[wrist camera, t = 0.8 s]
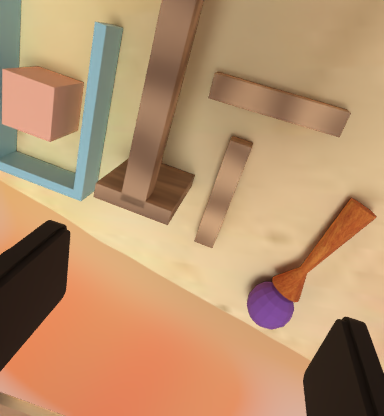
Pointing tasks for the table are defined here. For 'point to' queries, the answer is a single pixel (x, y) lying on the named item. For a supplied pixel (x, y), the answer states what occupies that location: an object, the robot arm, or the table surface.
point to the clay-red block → (41, 102)
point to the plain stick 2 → (279, 104)
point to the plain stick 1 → (223, 190)
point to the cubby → (92, 116)
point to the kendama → (303, 270)
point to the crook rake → (157, 122)
